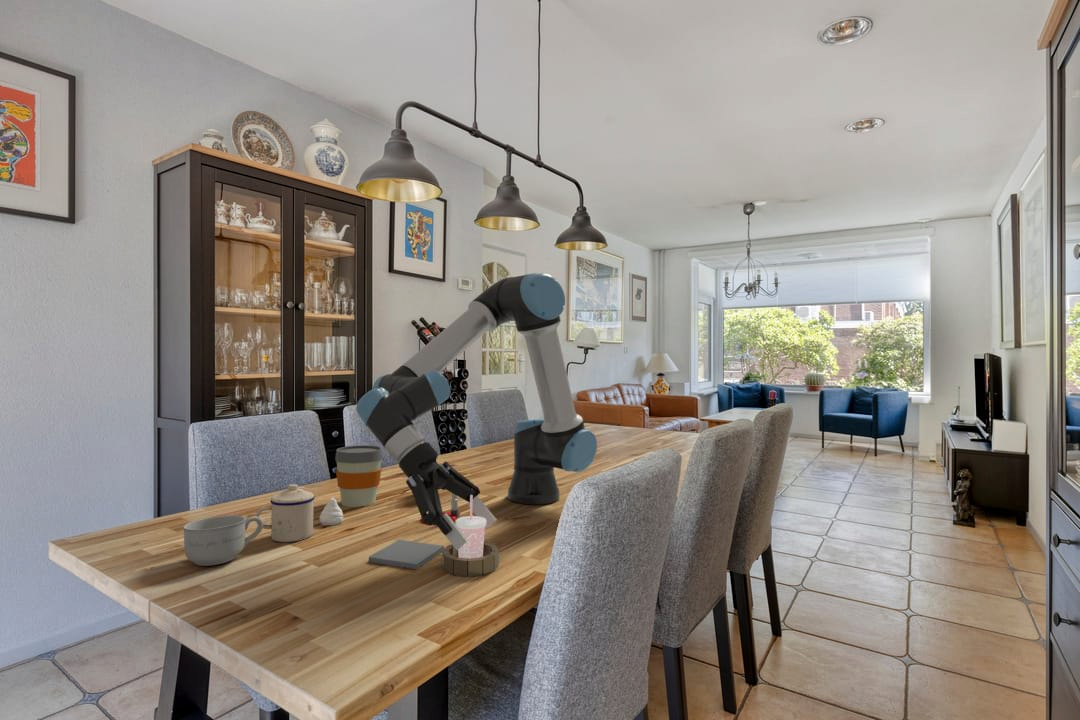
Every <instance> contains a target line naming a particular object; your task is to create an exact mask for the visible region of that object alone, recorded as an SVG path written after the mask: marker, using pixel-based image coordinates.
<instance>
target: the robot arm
mask: <svg viewBox="0 0 1080 720" xmlns="http://www.w3.org/2000/svg"><path fill="white" fill-rule="evenodd" d="M565 305H566V295H565V290H564V289H563V287H562V284H561V283H560V282H559V281H558V280H557V278H555V277H553V276H552V275H550V274H548V273H543V272H542V273H536V272H533V273H528V274H523V275H517V276H511V277H510V276H509V277H505V278H501V279H500V280H498V281H496V282H495V283H493V284H492V285H490V286H489V287H487V289H485V290H484V291H482V293H479V295H477V296H476V297H475V298H474V299H473V300H472V301H470V302H469V304H468V309H467V310H465V312H463V313H462V314H461V315H460V316H459V317H457V318H456V319H455V320H454V321H453V322H451V324H449V325H448V326H447V327H446V328H445V329H443V330H442V331H441V332H440V333H438V334H437V335H436V336H435V337H434V338H433V339H431V340H430V341H429V342H428V343H427V344H426V345H424V346H423V347H422V348H421V349H419V351H417V352H416V353H415V354H414V355H412V356H411V357H410V358H409V359H408V360H407V361H406V362H404V363H403V364H402V365H401V366H400V367H398V368H397V369H395V371H393V372H392V373H391V374H390V373H387V374H384V375H381V376H379V377H378V378H377V379H376V380H375V381H374V383H373V385H372V389H371V390H369V391H367V392H366V393H364V395H363V396H362V397H361V398H359V400H357V401H358V402H357V404H356V407H355V409H356V413H357V414H358V416H359V417H360V419H361V420H362V422H363V423H364V425H365V426H366V427H367V428H368V429H369V431H370V432H372V434H373V436H374V437H376V439H377V440H378V441H379V442H380V444H381V445H382V446H383V448H384V450H386V451H387V453H388V454H389V456H390V457H391V458H392V459H393V460H394V462H395V463H398V467H399V469H400V470H401V471H402V472H403V474H404V475H405V476H406V477H407V478H408V479H406V481H405V483H406V485H407V487H408V488H409V489H410V490H411V491H410V492H411V493H412V496H413V499H414V501H415V504H416V506H417V507H416V508H418V509H417V510H418V512H419V514H420V518H421V517H422V520H423V521H424V522H425V523H424V522H423V523H424V524H428V526H430V527H431V526H433V525H436V526H437V528H438V529H439V531H441V533H442V534H443V536H445V537H446V539H447V540H448V542H450V545H451V544H452V545H453V546H454V547H455V549H456V550H458V549H460V548H461V547H462V546H463V545H464V544H465V543H466V542H467V541H468V539H467V538H466V537H465V536H464V534H463V533H462V532H461V531H460V529H459V528H458V527H457V526H456V522H453V521H452V519H451V518H450V517H449V515H448V514H447V513H445V514H444V515H443V512H442V511H443V507H442V504H441V503H442V502H441V497H440V493H439V491H440V490H441V491H445V490H446V491H448V492H450V493H451V494H452V493H453V494H455V495H457V497H458V498H460V499H463V500H464V501H466V502H467V507H468V508H470V495H473V505H472V513H473V514H474V516H479V517H483V518H485V519H486V521H487V522H486V526H485V529H490V527H491V526H492V525H493V524H494V523H496V521H497V520H498V519H497V518H496V517H495V516H494V514H493V513H492V512H491V511H490V510H489V508H488V507H487V506H486V505H485V503H484V502H483V501H482V500H481V498H480V497H479V496H478V495H480V494H481V490H480V488H479V487H478V486H476V485H475V484H474V483H473V482H472V481H470V480H469V479H468V478H467V477H465V476H464V475H462V474H461V473H460V472H459V471H457V470H456V469H455V468H454V467H453V466H452V465H451V464H450V463H449V462H448V461H444V462H443V463H442V464H439V463H438V462H437V459H438V456H439V455H438V452H437V451H436V450H435V449H434V447H433V446H432V444H430V443H429V442H428V441H427V440H426V439H427V438H426V437H425V436H424V435H423V434H422V432H421V431H420V429H418V427H417V426H416V425H415V424H414V422H413V421H416V419H418V418H420V417H421V416H423V415H424V414H426V413H428V412H430V411H431V410H433V409H435V408H436V407H439V406H440V405H441V404H443V403H445V401H446V400H448V399H449V398H450V396H451V387H450V384H449V382H448V380H447V378H446V376H445V375H444V374H443V373H442V371H443V370H445V369H446V368H447V367H449V366H450V365H451V363H453V362H455V360H456V359H457V358H459V356H461V355H462V354H463V353H464V352H465V351H466V350H467V349H468V348H470V346H472V345H473V344H474V343H476V342H477V341H478V340H479V339H480V338H481V337H483V335H484V334H485V333H487V332H494V331H495V330H496V329H497V328H498V327H499V326H501V325H503V324H505V323H509V322H514V323H515V328H516V331H517V333H519V334H520V335H522V336H523V337H524V339H525V344H526V348H527V351H528V356H529V360H530V365H531V369H532V372H533V376H534V381H535V385H536V389H537V394H538V397H539V403H540V406H541V410H542V413H543V418H537V419H525V420H518V421H517V422H516V423H515V425H514V433H513V436H514V437H513V438H514V439H513V440H514V441H513V442H514V443H513V444H514V445H513V447H514V450H513V452H514V453H513V455H514V456H513V457H514V459H513V460H514V461H513V462H514V463H513V468H514V469H513V474H512V477H511V481H510V485H509V487H508V489H507V499H508V500H509V501H511V502H514V503H517V504H522V505H547V504H551V503H555V502H558V501H559V500H560V488H559V487H558V484H557V479H556V475H555V471H554V470H555V469H559V470H562V471H563V470H564V471H565V472H568V473H569V472H571V473H572V472H574V473H580V472H583V471H585V470H586V469H588V468H589V467H590V466H591V465H592V463H593V461H594V458H595V457H596V455H597V450H598V440H597V437H596V435H595V434H594V432H592V430H590V429H587V428H586V427H585V423H584V419H583V417H582V416H581V414H578V413H577V411H576V408H575V404H574V400H573V395H572V391H571V386H570V382H569V379H568V378H569V377H568V373H567V369H566V365H565V364H566V363H565V361H564V355H563V352H562V348H561V347H562V346H561V342H560V338H559V334H558V330H557V329H558V326H559V325H560V323H561V322H562V320H561V315H562V313H563V312H564V309H565V308H564V306H565ZM442 515H443V516H442ZM434 523H435V524H434Z"/></svg>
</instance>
